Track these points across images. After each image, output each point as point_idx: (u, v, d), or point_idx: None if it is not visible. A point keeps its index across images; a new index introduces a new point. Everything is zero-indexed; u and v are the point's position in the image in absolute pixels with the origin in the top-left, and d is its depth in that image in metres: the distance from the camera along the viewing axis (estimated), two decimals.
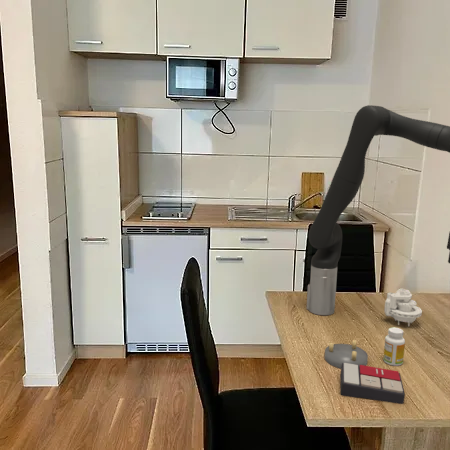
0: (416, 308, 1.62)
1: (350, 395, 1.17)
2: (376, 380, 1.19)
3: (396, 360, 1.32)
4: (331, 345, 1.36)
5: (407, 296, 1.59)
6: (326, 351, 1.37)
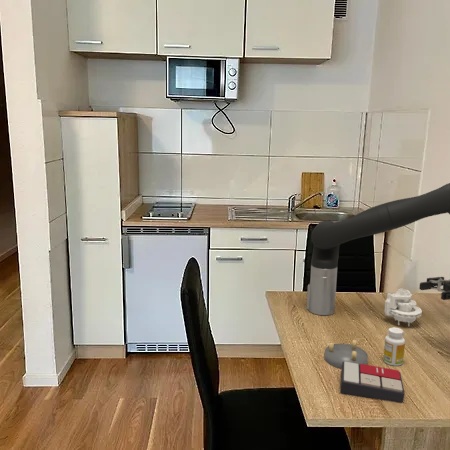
0: (416, 308, 1.62)
1: (350, 393, 1.18)
2: (376, 379, 1.19)
3: (396, 360, 1.32)
4: (331, 345, 1.36)
5: (407, 296, 1.59)
6: (326, 351, 1.37)
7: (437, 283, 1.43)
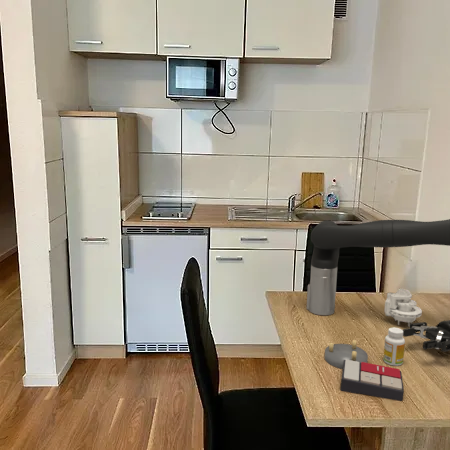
0: (416, 308, 1.62)
1: (350, 391, 1.19)
2: (376, 377, 1.20)
3: (396, 360, 1.32)
4: (331, 345, 1.36)
5: (407, 296, 1.59)
6: (326, 351, 1.37)
7: None
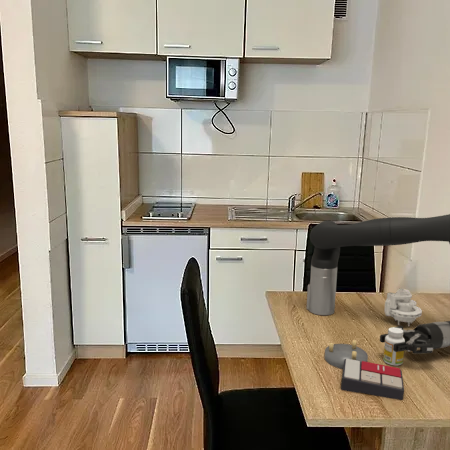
0: (416, 308, 1.62)
1: (350, 390, 1.20)
2: (376, 376, 1.20)
3: (396, 360, 1.32)
4: (331, 345, 1.36)
5: (407, 296, 1.59)
6: (326, 351, 1.37)
7: None
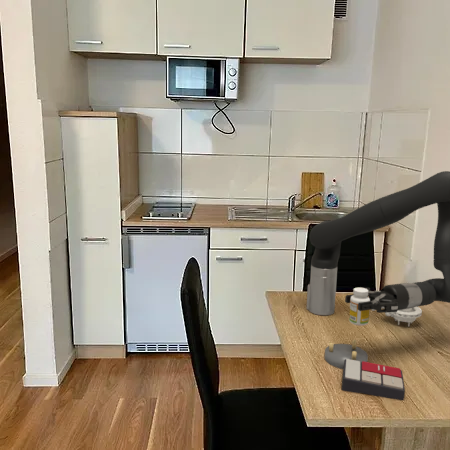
0: (416, 308, 1.62)
1: (351, 390, 1.19)
2: (377, 376, 1.20)
3: (361, 319, 1.31)
4: (331, 345, 1.36)
5: None
6: (326, 351, 1.37)
7: None
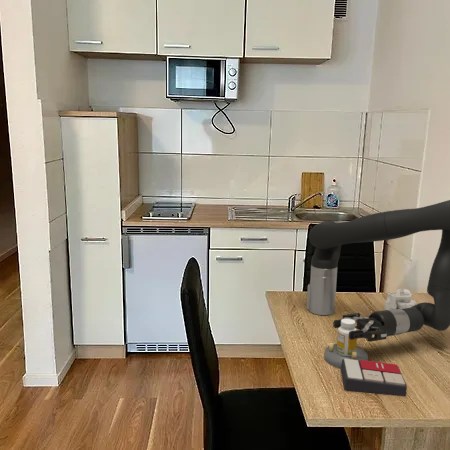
0: None
1: (354, 390, 1.20)
2: (378, 374, 1.21)
3: (348, 350, 1.33)
4: (331, 345, 1.36)
5: (407, 296, 1.59)
6: (326, 351, 1.37)
7: None
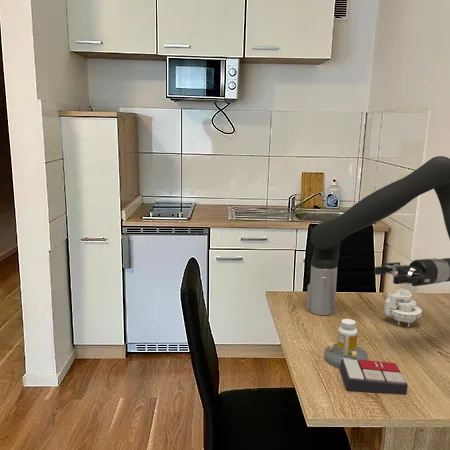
0: (416, 308, 1.62)
1: (356, 390, 1.20)
2: (378, 373, 1.22)
3: (348, 351, 1.33)
4: (331, 345, 1.36)
5: (407, 296, 1.59)
6: (326, 351, 1.37)
7: (393, 268, 1.43)
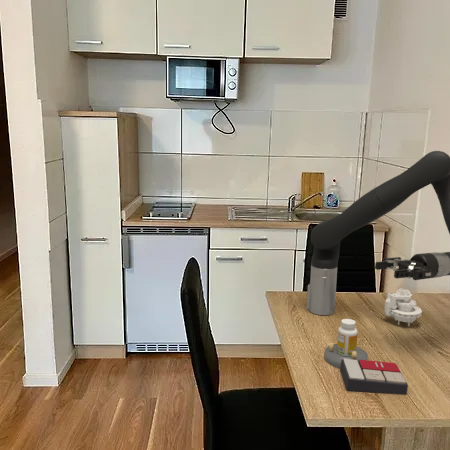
0: (416, 308, 1.62)
1: (356, 390, 1.20)
2: (379, 373, 1.22)
3: (348, 351, 1.33)
4: (331, 345, 1.36)
5: (407, 296, 1.59)
6: (326, 351, 1.37)
7: (394, 263, 1.42)
